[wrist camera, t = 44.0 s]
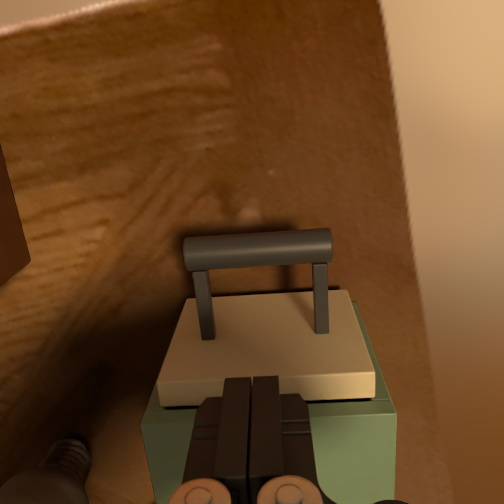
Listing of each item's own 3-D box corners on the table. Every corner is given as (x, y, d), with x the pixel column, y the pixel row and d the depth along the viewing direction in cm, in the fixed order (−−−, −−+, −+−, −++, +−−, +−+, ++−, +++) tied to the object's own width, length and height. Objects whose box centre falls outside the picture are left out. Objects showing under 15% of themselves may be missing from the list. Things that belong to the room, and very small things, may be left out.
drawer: (173, 212, 24) (135, 270, 17) (345, 200, 23) (377, 255, 16) (212, 479, 30) (195, 601, 23) (349, 475, 29) (373, 598, 23)
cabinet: (181, 310, 27) (139, 424, 18) (356, 300, 26) (397, 413, 18) (208, 496, 32) (186, 653, 23) (357, 491, 31) (390, 651, 22)
